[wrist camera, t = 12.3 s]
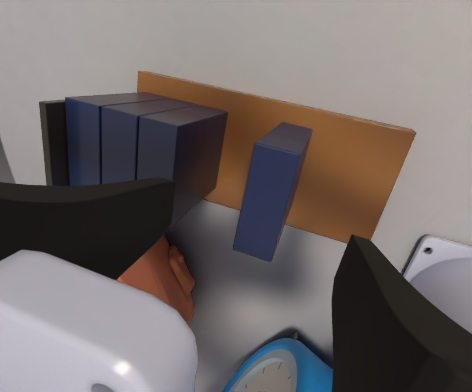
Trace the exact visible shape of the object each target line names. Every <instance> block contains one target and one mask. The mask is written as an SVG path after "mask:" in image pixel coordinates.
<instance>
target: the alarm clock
mask: <svg viewBox="0 0 472 392" xmlns="http://www.w3.org/2000/svg"><path fill="white" fill-rule="evenodd" d="M297 336H298V333H297V332H294V334H293V335H292V336H291V338H282V339H278V340H275V341H272V342H270V343H268V344H266V345H265V346H263V347H262V348H260V349H259V350H258V351H256V352H255V353H254V354H253V355H252V356H251V357H250V358H248V359H247V360H246V362H245V363H244V364H243V365H242V366H241V367H240V368H239V369H238V370H237V372H236V373H235V374H234V375H233V377H232V378H231V379H230V381H229V382H228V383H227V385H226V386H225V388H224V389H223V391H222V392H332V379H333V370H332V369H331V368H330V367H329V366H327V365H326V364H325V363H324V362H323V361H322V360H321V359H319V358H318V357H317V356H316V355H315V354H314V353H313V352H311V351H310V350H309V349H308V348H307V347H306V346H305V345H304V344H302V343H301V342H299V341H297Z"/></svg>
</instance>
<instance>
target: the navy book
mask: <svg viewBox="0 0 472 392" xmlns="http://www.w3.org/2000/svg"><path fill="white" fill-rule="evenodd" d="M312 132H313V129H310V128H306V127H302V126H298V125H293V124H289V123H285V122H281V123H280V124H279V125H277V126H276V127H275V128H274V129H272V130H271V131H270V132H268V133H267V134H266V135H264V136H263V137H262V138H261V139H259V140H258V141H257V142H255V144H254V148H253V153H252V158H251V162H250V167H249V172H248V177H247V182H246V187H245V192H244V196H243V201H242V206H241V211H240V216H239V221H238V226H237V230H236V235H235V240H234V245H233V250H235V251H238V252H241V253H244V254H247V255H250V256H253V257H256V258H259V259H262V260H265V261H268V262H271V261H272V259H273V256H274V253H275V251H276V248H277V245H278V242H279V239H280V237H281V234H282V231H283V228H284V226H285V223H286V220H287V217H288V215H289V212H290V209H291V206H292V202H293V199H294V195H295V192H296V188H297V185H298V181H299V178H300V174H301V171H302V167H303V164H304V160H305V156H306V153H307V149H308V146H309V142H310V139H311V135H312Z"/></svg>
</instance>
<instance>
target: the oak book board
mask: <svg viewBox="0 0 472 392" xmlns="http://www.w3.org/2000/svg"><path fill="white" fill-rule="evenodd" d="M39 107H40V118H41V129H42V140H43V151H44V162H45V173H46V184H47V186H82V185H96V184H105V183H115V182H123V181H130V180H138V179H146V178H166V179H169V180H172V181H176V184H175V194H174V204H173V214H172V224H171V225H170V227H169V228H168V229H170V228H171V227H172V226H173V225H174V224H175V223H176V222H177V221H179V220H180V219H181V218H182V217H183V216H184V215H185V214H186V213H188V212H189V211H190V210H191V209H192V208H193V207H194V206H196V205H197V204H198V203H199V202H200V201H201V200H202V199H204V200H207V201H211V202H214V203H217V204H220V205H224V206H227V207H230V208H233V209H237V210H240V211H241V206H242V201H243V196H244V192H245V187H246V182H247V177H248V172H249V167H250V162H251V158H252V153H253V148H254V144H255V142H257V141H258V140H259V139H261V138H262V137H263V136H264V135H266V134H267V133H268V132H270V131H271V130H272V129H274V128H275V127H276V126H277V125H279V124H280V123H281V122H285V123H289V124H293V125H298V126H302V127H306V128H310V129H313V132H312V135H311V139H310V142H309V146H308V149H307V153H306V156H305V160H304V164H303V167H302V171H301V174H300V178H299V181H298V185H297V188H296V192H295V195H294V199H293V202H292V206H291V209H290V212H289V215H288V217H287V220H286V223H285V224H286V225H289V226H292V227H296V228H299V229H302V230H305V231H309V232H312V233H315V234H318V235H322V236H325V237H328V238H331V239H335V240H338V241H341V242H345V243H348V242H349V239H350V237H351V234H353V235H357V236H360V237H363V238H367V239H369V240H371V238H372V236H373V233H374V231H375V228H376V226H377V224H378V221H379V219H380V217H381V214H382V212H383V210H384V207H385V205H386V203H387V200H388V198H389V196H390V193H391V191H392V189H393V186H394V184H395V182H396V179H397V177H398V175H399V172H400V170H401V168H402V165H403V163H404V161H405V158H406V156H407V154H408V151H409V149H410V147H411V144H412V142H413V140H414V137H415V135H416V132H415V131H414V130H412V129H408V128H403V127H399V126H394V125H390V124H385V123H381V122H376V121H371V120H367V119H362V118H358V117H353V116H348V115H344V114H339V113H335V112H330V111H325V110H321V109H316V108H312V107H307V106H303V105H298V104H293V103H289V102H284V101H280V100H275V99H270V98H266V97H261V96H257V95H252V94H247V93H243V92H238V91H234V90H229V89H224V88H220V87H215V86H211V85H206V84H202V83H197V82H192V81H188V80H183V79H179V78H174V77H169V76H165V75H160V74H156V73H151V72H146V71H138V87H137V93H125V94H109V95H93V96H78V97H66V98H65V100H55V101H41V102H39ZM168 229H167V230H168Z"/></svg>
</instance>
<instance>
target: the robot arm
mask: <svg viewBox="0 0 472 392" xmlns="http://www.w3.org/2000/svg"><path fill="white" fill-rule="evenodd" d="M175 184H176V181H172V180H169V179H166V178H146V179H138V180H130V181H123V182H115V183H105V184H96V185H82V186H43V185H23V184H12V183H2V182H0V392H195V377H196V372H197V366H198V361H199V359H198V352H197V346H196V339H195V335H194V333H193V332H192V330H191V329H190V328H189V326H188V325H187V323H186V322H185V321H184V319H183V318H182V317H181V315H180V314H179V312H178V311H177V310H176V309H174V308H173V307H171V306H169V305H168V304H166V303H165V302H163V301H162V300H160V299H159V298H157V297H155V296H154V295H151V294H149V293H146V292H144V291H141V290H139V289H136V288H134V287H131V286H129V285H126V284H124V283H121V282H118V281H116V280H117V279H118V278H119V277H120V276H121V275H122V274H123V273H124V272H125V271H126V270H127V269H128V268H130V267H131V266H132V265H133V264H134V263H135V262H136V261H137V260H138V259H139V258H140V257H141V256H143V255H144V254H145V253H146V252H147V251H148V250H149V249H150V248H151V247H152V246H153V245H154V244H155V243H156V242H157V241H158V240H159V239H160V238H161V237H162V236H163V234H164V233H165V232H166V231H167V229H168V228H169V227H170V225H171V224H172V214H173V204H174V194H175ZM427 247H429V248H431V249H430V250H429V251H423V249H424V248H427ZM332 327H333V354H334V358H333V379H332V392H472V246H469V245H465V244H462V243H458V242H455V241H451V240H448V239H444V238H441V237H437V236H434V235H427V236H425V237H423V238H422V239H421V241H420V243H419V245H418V247H417V249H416V251H415V253H414V255H413V257H412V259H411V261H410V263H409V265H408V267H407V269H406V271H405V273H404V275H403V276H402V275H401V274H400V273H399V272H398V270H397V269H396V268H395V267H394V266H393V265H392V264H391V263H390V262H389V261H388V259H387V258H386V257H385V256H384V255H383V254H382V253H381V251H380V250H379V249H378V248H377V247H376V246H375V245H374V244H373V243H372V242H371V241H370V240H369V239H367V238H363V237H360V236H357V235H353V234H351V237H350V239H349V242H348V244H347V247H346V250H345V252H344V255H343V257H342V260H341V262H340V265H339V267H338V270H337V273H336V275H335V278H334V285H333V293H332Z"/></svg>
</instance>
